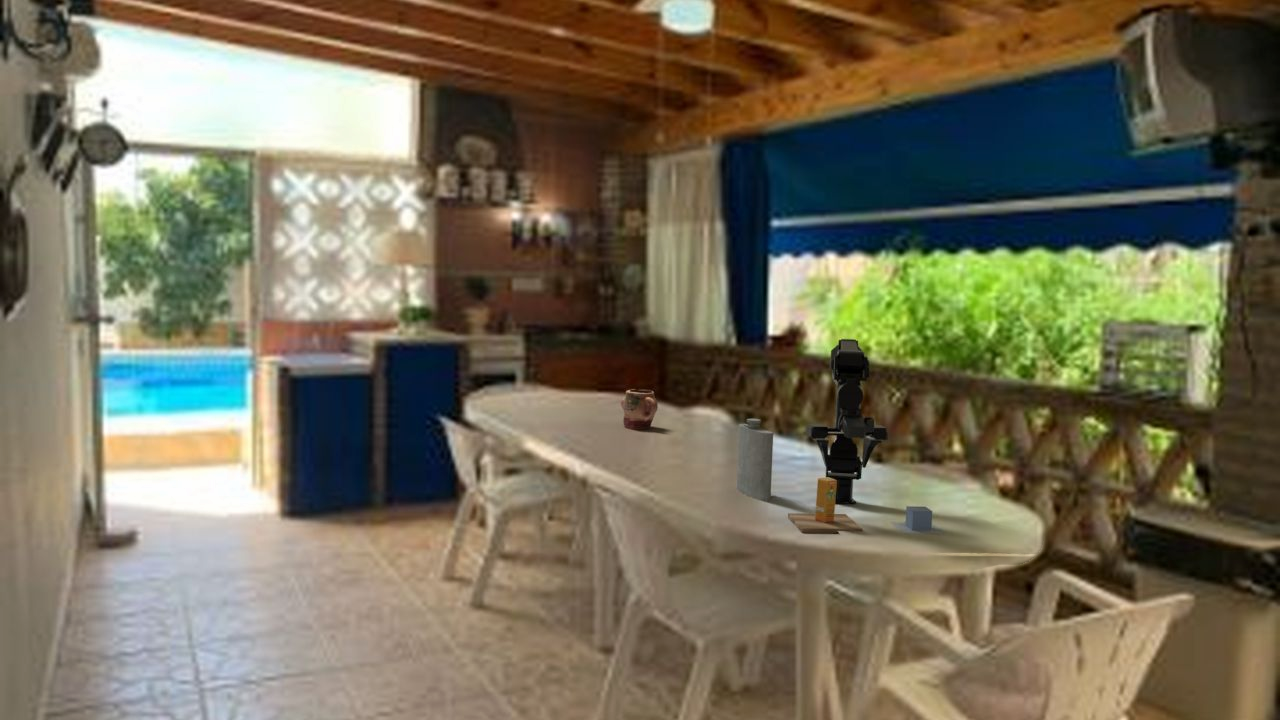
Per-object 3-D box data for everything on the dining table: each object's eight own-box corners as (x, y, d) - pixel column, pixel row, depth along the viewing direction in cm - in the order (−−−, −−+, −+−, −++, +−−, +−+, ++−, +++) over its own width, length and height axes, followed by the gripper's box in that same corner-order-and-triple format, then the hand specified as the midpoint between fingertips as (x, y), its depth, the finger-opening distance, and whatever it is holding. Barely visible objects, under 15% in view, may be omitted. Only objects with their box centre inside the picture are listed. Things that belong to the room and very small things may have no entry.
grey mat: (889, 524, 237) (890, 522, 237) (931, 525, 238) (931, 522, 238) (904, 535, 227) (904, 533, 227) (947, 536, 228) (947, 533, 228)
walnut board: (787, 517, 241) (788, 513, 241) (845, 518, 242) (845, 513, 242) (801, 532, 227) (801, 528, 227) (862, 533, 228) (862, 528, 228)
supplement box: (824, 523, 232) (826, 480, 231) (814, 520, 235) (816, 477, 234) (835, 521, 234) (837, 479, 233) (825, 518, 237) (827, 476, 236)
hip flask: (772, 500, 259) (775, 423, 257) (758, 501, 257) (761, 423, 256) (745, 487, 274) (748, 414, 272) (731, 488, 272) (734, 414, 270)
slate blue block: (905, 525, 234) (906, 506, 234) (924, 525, 235) (925, 506, 234) (912, 530, 230) (913, 510, 229) (931, 530, 230) (932, 511, 230)
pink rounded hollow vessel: (669, 430, 367) (671, 393, 365) (642, 433, 359) (643, 394, 358) (637, 423, 383) (638, 386, 381) (610, 425, 375) (611, 388, 374)
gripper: (818, 406, 233) (815, 473, 234) (897, 408, 234) (894, 474, 236) (807, 400, 244) (804, 464, 245) (882, 402, 245) (879, 465, 247)
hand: (845, 467), depth 243 cm, fingers open, 9 cm apart
